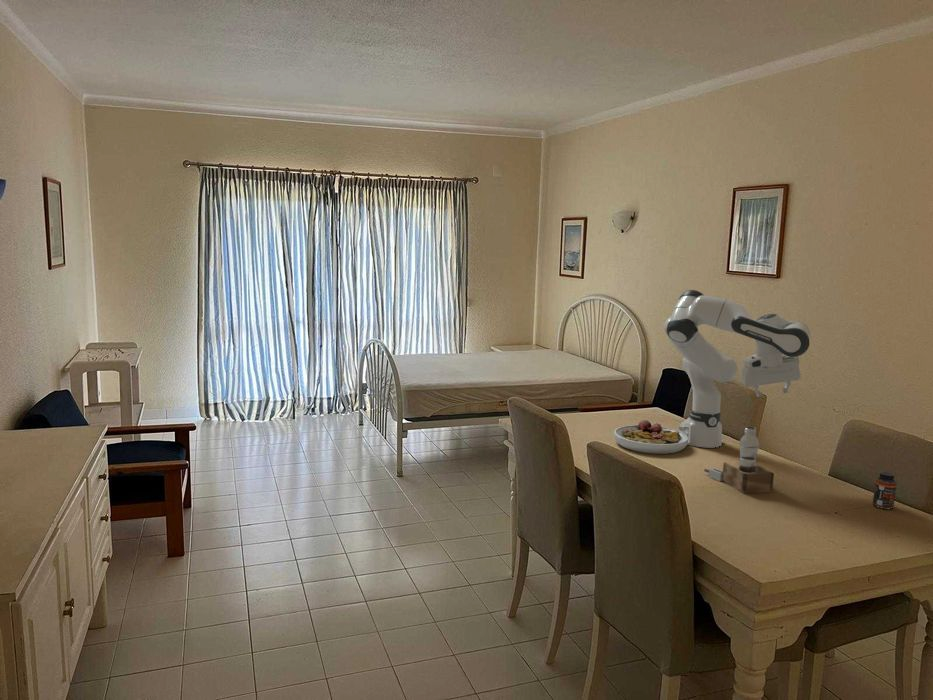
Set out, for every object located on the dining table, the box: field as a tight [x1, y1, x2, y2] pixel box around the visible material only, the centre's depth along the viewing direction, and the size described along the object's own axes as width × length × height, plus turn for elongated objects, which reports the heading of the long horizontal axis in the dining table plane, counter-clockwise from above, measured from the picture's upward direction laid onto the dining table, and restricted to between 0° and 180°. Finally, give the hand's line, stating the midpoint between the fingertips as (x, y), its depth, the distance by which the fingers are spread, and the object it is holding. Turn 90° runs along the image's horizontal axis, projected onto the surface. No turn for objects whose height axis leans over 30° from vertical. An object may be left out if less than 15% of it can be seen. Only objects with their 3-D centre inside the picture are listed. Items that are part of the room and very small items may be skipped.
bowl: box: [613, 419, 688, 455], centre depth 293 cm, size 30×30×8 cm
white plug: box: [704, 467, 723, 482], centre depth 252 cm, size 11×3×3 cm, turn 32°
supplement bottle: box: [872, 471, 897, 508], centre depth 228 cm, size 6×6×11 cm
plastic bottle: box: [737, 426, 760, 473], centre depth 243 cm, size 6×7×20 cm
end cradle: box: [721, 462, 775, 495], centre depth 244 cm, size 13×11×7 cm
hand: (772, 394), depth 258 cm, fingers open, 8 cm apart
